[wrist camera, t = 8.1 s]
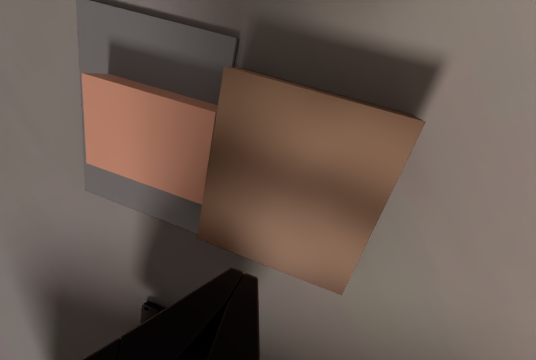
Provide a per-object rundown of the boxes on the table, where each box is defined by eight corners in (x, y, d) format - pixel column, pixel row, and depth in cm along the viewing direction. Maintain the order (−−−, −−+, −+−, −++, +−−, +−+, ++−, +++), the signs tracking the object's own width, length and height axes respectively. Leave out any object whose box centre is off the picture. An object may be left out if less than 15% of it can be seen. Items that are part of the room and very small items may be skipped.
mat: (204, 234, 21) (202, 236, 21) (88, 189, 23) (85, 190, 22) (238, 38, 15) (236, 37, 15) (80, -2, 17) (76, -4, 17)
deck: (342, 269, 19) (341, 295, 16) (213, 220, 20) (196, 238, 18) (412, 115, 14) (425, 121, 12) (241, 68, 16) (224, 66, 14)
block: (229, 109, 17) (215, 112, 15) (215, 192, 19) (202, 204, 17) (108, 73, 18) (81, 72, 16) (109, 155, 20) (86, 163, 19)
